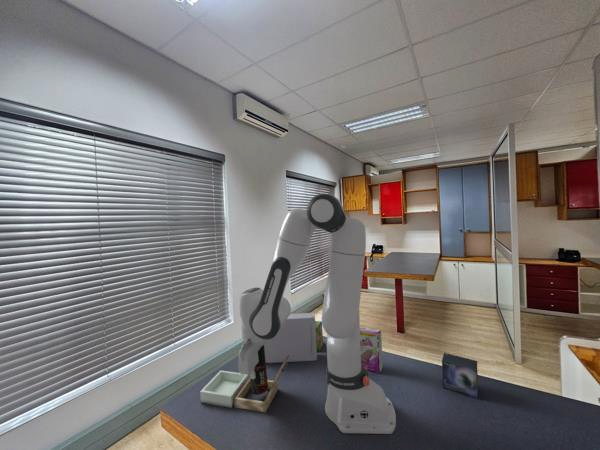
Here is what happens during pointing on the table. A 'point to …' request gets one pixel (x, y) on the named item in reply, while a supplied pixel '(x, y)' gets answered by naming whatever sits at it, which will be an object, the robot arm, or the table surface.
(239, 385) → the tray
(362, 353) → the candy bar box
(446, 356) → the small box
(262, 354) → the deodorant
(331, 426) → the table surface
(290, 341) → the game console
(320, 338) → the chalk box
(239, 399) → the frame
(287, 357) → the beige flat board
